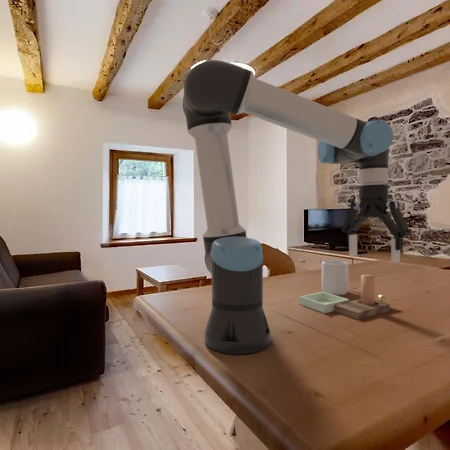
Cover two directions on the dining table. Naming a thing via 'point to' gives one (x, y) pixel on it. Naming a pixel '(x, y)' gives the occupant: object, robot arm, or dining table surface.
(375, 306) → the wooden block with recess
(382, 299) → the bench dog
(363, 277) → the pink tapered rounded cylinder
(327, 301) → the tray
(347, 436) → the dining table surface
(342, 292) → the mug
